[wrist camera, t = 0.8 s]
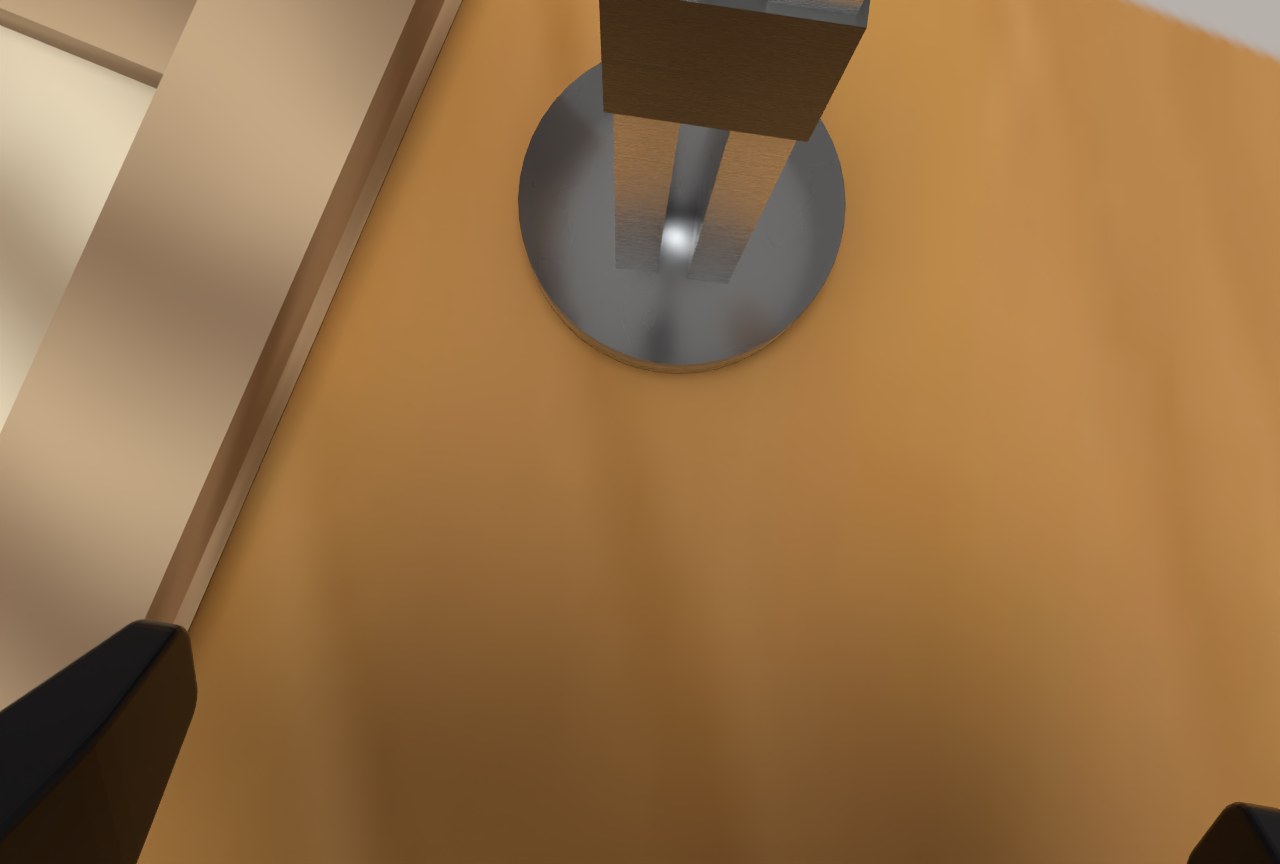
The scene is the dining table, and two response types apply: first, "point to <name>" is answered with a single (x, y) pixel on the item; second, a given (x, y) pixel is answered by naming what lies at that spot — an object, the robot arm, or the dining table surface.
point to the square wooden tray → (169, 278)
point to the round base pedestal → (692, 178)
